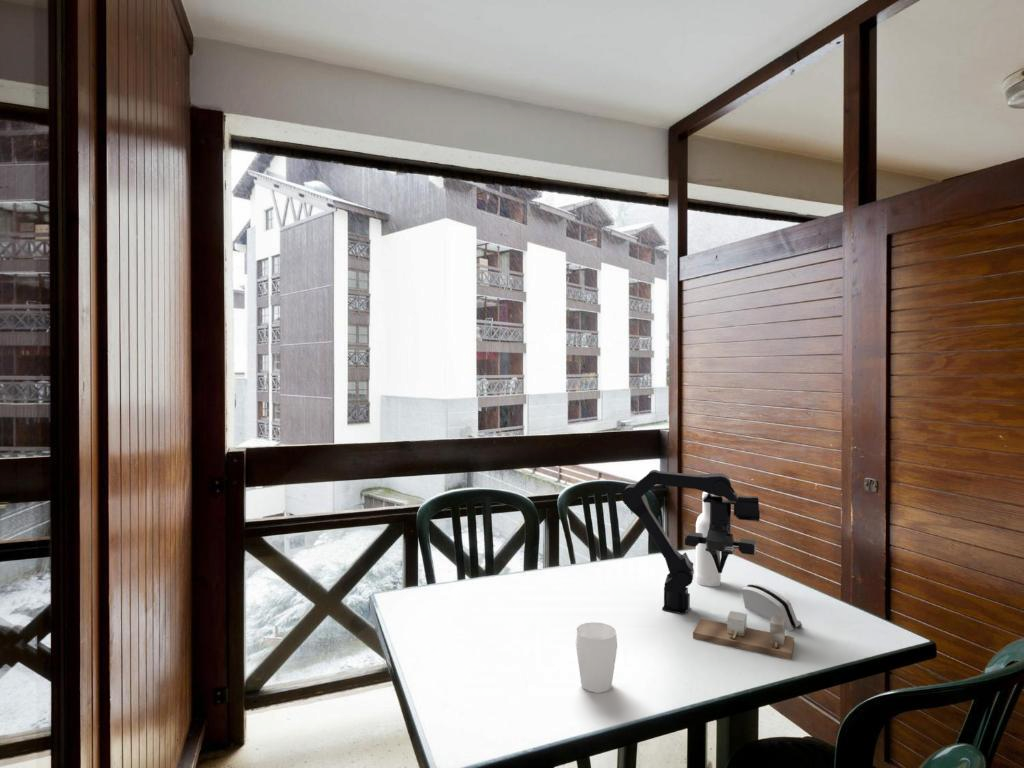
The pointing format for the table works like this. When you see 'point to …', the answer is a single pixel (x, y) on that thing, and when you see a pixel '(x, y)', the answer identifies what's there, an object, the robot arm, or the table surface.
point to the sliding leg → (736, 623)
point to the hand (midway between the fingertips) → (720, 572)
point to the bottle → (705, 552)
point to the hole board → (749, 637)
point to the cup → (596, 655)
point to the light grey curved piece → (769, 604)
